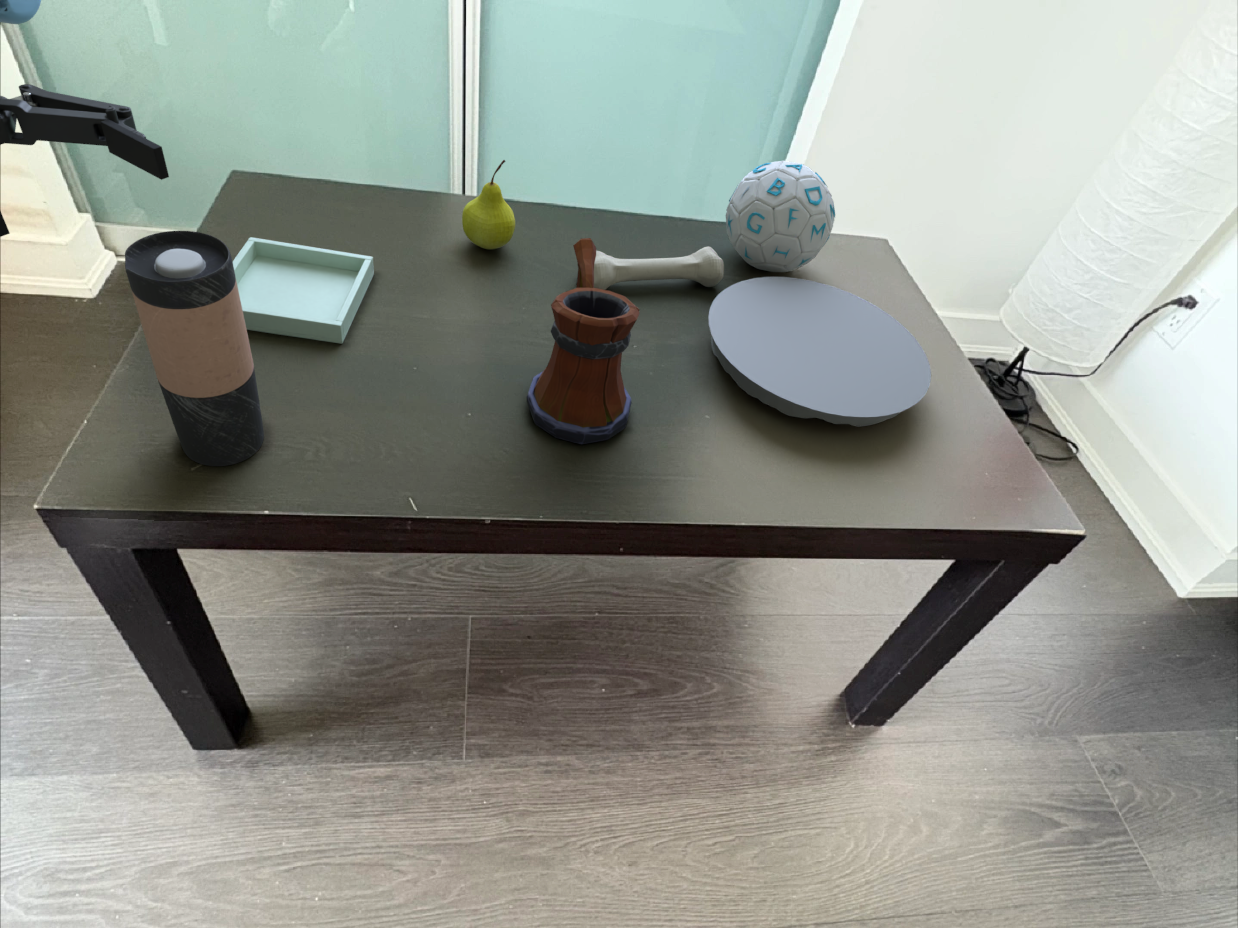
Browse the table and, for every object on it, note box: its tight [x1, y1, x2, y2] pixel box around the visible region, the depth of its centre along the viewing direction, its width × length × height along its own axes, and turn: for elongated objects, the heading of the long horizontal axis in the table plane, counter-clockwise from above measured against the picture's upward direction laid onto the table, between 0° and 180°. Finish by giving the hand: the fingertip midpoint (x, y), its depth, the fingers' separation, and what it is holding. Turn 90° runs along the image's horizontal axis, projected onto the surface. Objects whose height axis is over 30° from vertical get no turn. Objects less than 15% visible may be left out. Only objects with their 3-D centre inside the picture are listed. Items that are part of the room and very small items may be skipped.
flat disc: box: [708, 276, 932, 428], centre depth 98 cm, size 28×28×4 cm
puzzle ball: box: [725, 160, 836, 273], centre depth 112 cm, size 15×15×15 cm
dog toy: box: [594, 245, 725, 290], centre depth 106 cm, size 20×6×5 cm, turn 108°
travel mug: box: [124, 230, 265, 467], centre depth 68 cm, size 8×8×20 cm
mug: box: [526, 237, 641, 445], centre depth 84 cm, size 18×12×15 cm, turn 6°
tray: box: [232, 236, 375, 345], centre depth 91 cm, size 15×15×2 cm
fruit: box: [461, 159, 516, 250], centre depth 103 cm, size 7×7×12 cm
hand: (86, 189), depth 62 cm, fingers open, 13 cm apart
